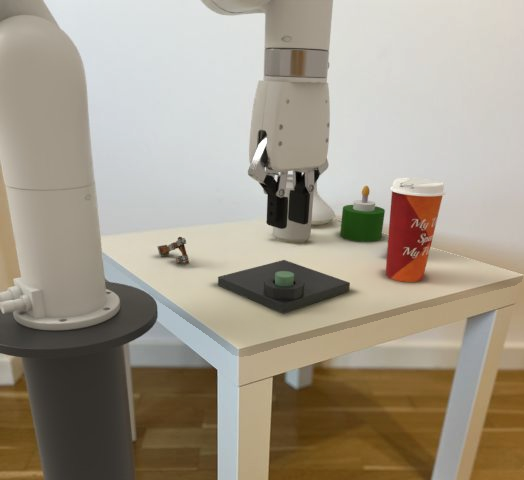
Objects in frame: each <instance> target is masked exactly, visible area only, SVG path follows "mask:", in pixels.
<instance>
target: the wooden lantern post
mask: <svg viewBox="0 0 524 480" xmlns="http://www.w3.org/2000/svg"><path fill="white" fill-rule="evenodd" d="M186 244H187V240H186V238H185V237H182V236H178V237H177V240H175V241H174V242H171V243H170V244H163V245H157V246H156V247H157V251H158V254H159V255H158V256H159V258H161V257H166V256H169V255H170V252H172V251H175V250H176V249H178V250H179V252H180V253H181V255H178V256H177V257H174V259H175V263H176V264H179V263H184V265H189V264H190V260H189V255H188V253H187V250H186V246H185V245H186Z"/></svg>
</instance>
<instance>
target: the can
mask: <svg viewBox="0 0 524 480" xmlns="http://www.w3.org/2000/svg"><path fill="white" fill-rule="evenodd" d="M290 190H294V188H293V173H288V175H287V183H286V190H285V195H284V196H285V197H288V210H289V193H290ZM309 194H310V203H309V217H308V223H307V224H300V223H296V222H293V221H290V220H289V219H288V214H287V227H286V228H285V229H280V228H276V227H273V226H272V236H274V238H275V239H276V240H277V241H279V242H282V243H289V244H299V243H303V242H305V241H307V240H308V239H309V238H310V237H311V235H312V234H311V233H312V225H311V222H312V208H313V194H314V191H313V192H312V193H309Z"/></svg>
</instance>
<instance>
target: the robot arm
mask: <svg viewBox="0 0 524 480" xmlns="http://www.w3.org/2000/svg"><path fill="white" fill-rule="evenodd" d="M200 2H201V3H202V4H203V5H204V6H205V7H206V8H207V9H208V10H210V11H211V12H213V13H216V14H219V15H221V16H229V17H230V16H232V17H233V16H240V15H251V14H265V17H264V18H265V19H264V21H265V22H264V50H263V80H258V81H257V84H256V89H255V92H254V98H253V103H252V110H251V111H252V112H251V120H250V129H249V130H250V131H249V147H248V161H249V164H250V165H249V167H248V170H247V176H249V177H250V178H251V179H253V180H254V181H256V182H258V184H259V185H260V186H261V188H262V189H263V190H262V192H263V193H264V194H265V195H267V199H266V200H267V201H266V202H267V203H266V224H267V225H268V226H269V227H272V228H273V227H276V228H280V229H285V228H286V227H287V214H288V219H289V220H290V221H293V222H296V223H300V224H307V223H308V217H309V203H310V194H309V193H312V192H313V191H314V184H315V183H316V181H317V182H318V180H319V178H320V177H321V175H322V174H324V172H326V170H327V169H328V168H329V160H328V153H329V144H330V125H331V124H330V123H331V119H330V118H331V106H330V105H331V104H330V103H331V102H330V88H329V82H328V74H329V73H328V72H329V68H330V62H329V61H330V46H331V45H330V44H331V33H332V32H331V30H332V19H333V18H332V17H333V6H334V5H333V4H334V0H200ZM88 97H89V96H88V84H87V77H86V71H85V65H84V61H83V59H82V56H81V53H80V51H79V49H78V47H77V46H76V44H75V43H74V41H73V40H72V39H71V38H70V36H69V35H68V34H67V32H65V31H64V29H62V28H61V27H60V24H58V22H57V20H56V19H55V17H54V15H53V13H52V12H51V11H50V9H49V8H48V6H47V3H45V1H44V0H0V166H1V172H2V178H3V183H4V186H5V192H6V198H7V203H8V209H9V214H10V220H11V221H10V222H11V227H12V231H13V233H12V234H13V238H14V245H15V250H16V255H17V261H18V267H19V272H20V273H19V274H20V277H14V278H13V279H12V280H13V286H9V287H7V288H6V289H7V290H4V291H0V309H1V311H2V313H3V314H6V313H10V312H13V315H14V318H15V320H16V321H17V322H18V323H20V324H21V325H24V326H26V327H29V328H33V329H38V330H48V331H63V330H74V329H80V328H86V327H90V326H93V325H97V324H99V323H102V322H105V321H107V320H108V319H110V318H112V317H113V316H114V315H116V314H117V312H118V311H119V309H120V299H119V297H118V295H116V294H115V293H114V292H112V291H110V290H107V289H106V285H105V282H106V276H105V266H104V257H103V247H102V238H101V228H100V227H101V226H100V218H99V217H100V216H99V208H98V207H99V206H98V197H97V188H96V180H95V172H94V171H95V170H94V161H93V151H92V141H91V128H90V116H89V115H90V113H89V98H88ZM289 172H292V174H293V188H294V190H290V193H289V210H288V197H285V196H284V195H285V190H286V183H287V175H288V174H289ZM275 176H277V177H275ZM275 178H276V179H275Z"/></svg>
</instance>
